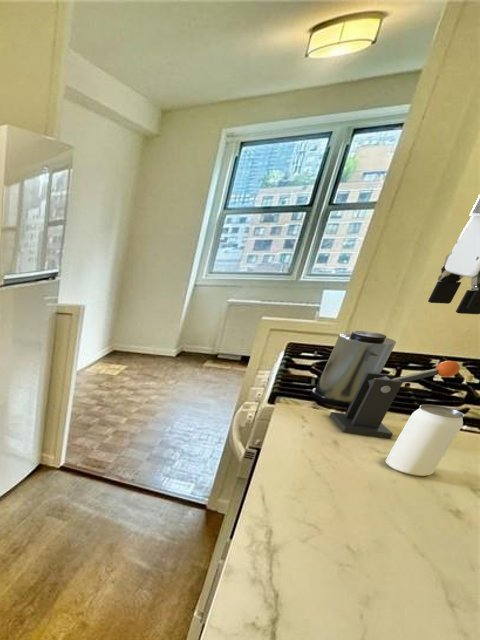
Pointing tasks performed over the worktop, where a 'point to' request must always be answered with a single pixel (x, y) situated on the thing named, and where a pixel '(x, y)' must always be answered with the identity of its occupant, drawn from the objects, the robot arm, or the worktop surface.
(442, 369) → the switch
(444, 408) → the can
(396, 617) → the worktop surface
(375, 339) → the kettle
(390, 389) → the switch bracket
